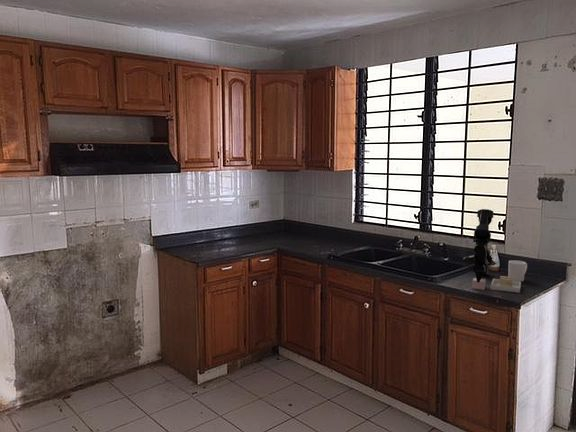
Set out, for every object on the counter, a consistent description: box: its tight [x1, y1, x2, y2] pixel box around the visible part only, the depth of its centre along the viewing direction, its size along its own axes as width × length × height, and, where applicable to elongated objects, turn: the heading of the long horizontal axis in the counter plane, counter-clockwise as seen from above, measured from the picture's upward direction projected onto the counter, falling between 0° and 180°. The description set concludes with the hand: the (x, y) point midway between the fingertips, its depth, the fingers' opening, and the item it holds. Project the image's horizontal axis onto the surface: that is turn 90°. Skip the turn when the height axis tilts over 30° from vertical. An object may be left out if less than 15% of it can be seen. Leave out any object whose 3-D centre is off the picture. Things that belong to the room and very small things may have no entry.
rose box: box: [471, 277, 487, 291], centre depth 257 cm, size 6×6×4 cm
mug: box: [507, 259, 528, 283], centre depth 272 cm, size 11×9×10 cm
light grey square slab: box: [490, 278, 522, 294], centre depth 256 cm, size 14×14×2 cm
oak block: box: [499, 275, 513, 287], centre depth 256 cm, size 6×6×5 cm
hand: (479, 280), depth 257 cm, fingers open, 9 cm apart
